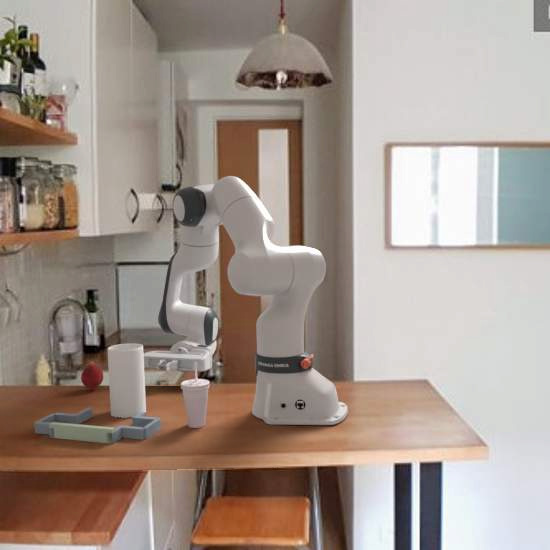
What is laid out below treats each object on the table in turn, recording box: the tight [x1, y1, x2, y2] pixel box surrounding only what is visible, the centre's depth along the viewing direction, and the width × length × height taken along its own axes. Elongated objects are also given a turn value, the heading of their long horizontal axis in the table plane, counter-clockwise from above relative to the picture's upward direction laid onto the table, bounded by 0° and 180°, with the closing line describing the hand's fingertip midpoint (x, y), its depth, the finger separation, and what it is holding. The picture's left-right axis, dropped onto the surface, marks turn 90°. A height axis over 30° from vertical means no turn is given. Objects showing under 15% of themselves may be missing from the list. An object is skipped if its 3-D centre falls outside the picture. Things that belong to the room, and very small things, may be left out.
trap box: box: [34, 407, 162, 445], centre depth 125 cm, size 26×14×3 cm, turn 73°
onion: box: [80, 361, 104, 392], centre depth 156 cm, size 6×6×8 cm
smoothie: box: [180, 362, 211, 429], centre depth 126 cm, size 6×6×14 cm
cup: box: [107, 342, 147, 419], centre depth 136 cm, size 8×8×16 cm
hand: (162, 367), depth 153 cm, fingers closed
